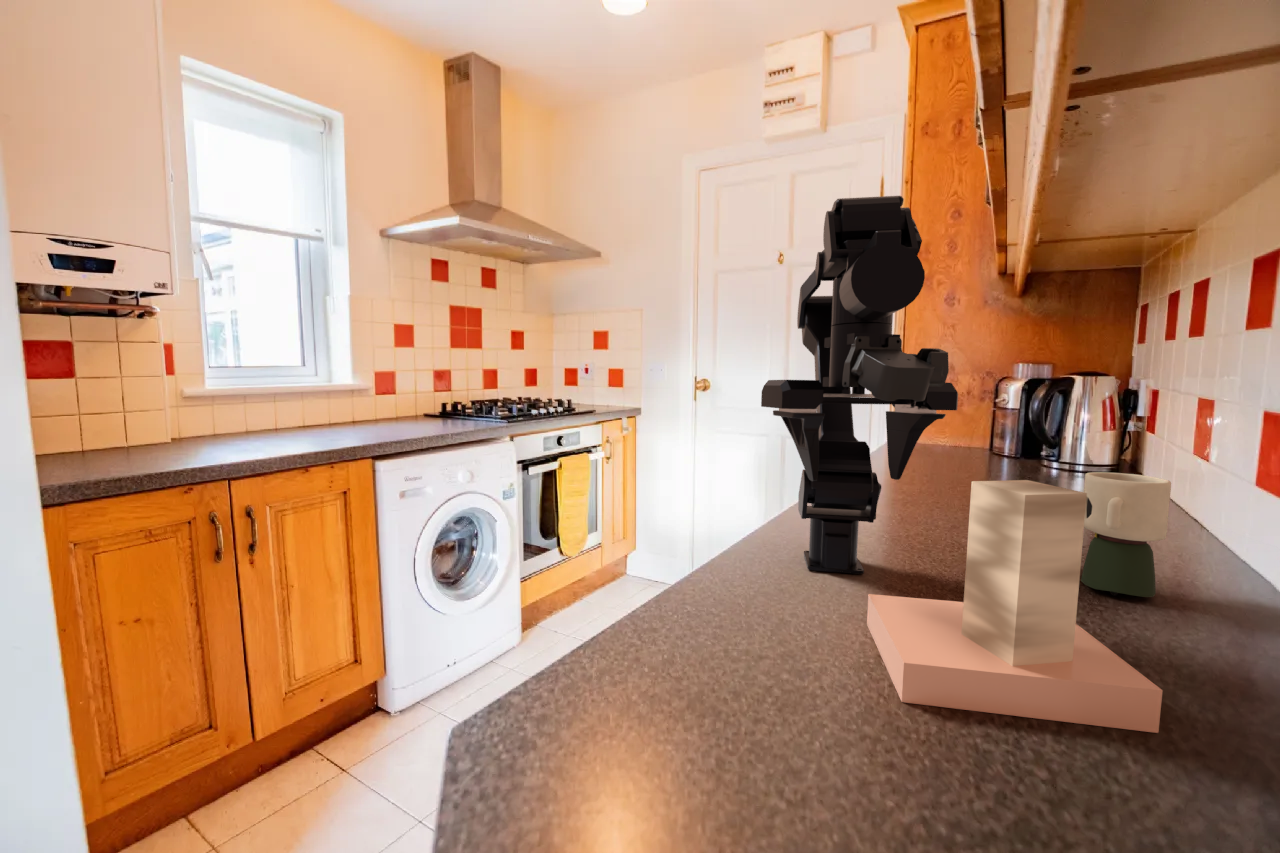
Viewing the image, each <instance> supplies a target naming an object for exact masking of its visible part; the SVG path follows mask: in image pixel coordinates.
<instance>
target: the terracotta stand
mask: <svg viewBox="0 0 1280 853" xmlns="http://www.w3.org/2000/svg"><path fill="white" fill-rule="evenodd" d="M867 596H868V597H867V618H866V619H867V620H866V626H867V628H868V630H869V632H870V635H871V637H872V639H873V641H874V643H875V646H876V647H877V650H878V653H879V655H880V657H881V659H882V661H883V664H884V666H885V668H886V671H887V673H888V675H889V678H890V680H891V682H892V683H893V686H894V688H895V690H896V692H897V695H898V697H899V699H900V701H901V703H907V704H915V705H924V706H931V707H940V708H949V709H956V710H966V711H972V712H981V713H990V714H996V715H1007V716H1012V717H1013V716H1016V717H1022V718H1029V719H1030V718H1031V719H1032V718H1033V719H1039V720H1046V721H1047V720H1048V721H1054V722H1055V721H1056V722H1065V723H1071V724H1072V723H1074V724H1081V725H1090V726H1098V727H1105V728H1115V729H1123V730H1130V731H1138V732H1139V731H1140V732H1148V733H1156V734H1159V732H1160V731H1159V730H1160V718H1161V708H1162V701H1163V700H1162V699H1163V691H1164V690H1163V689H1161V687H1159V686H1158V685H1156V684H1155V683H1153V682H1152V681H1151V680H1150V679H1148V678H1147V677H1146V676H1145V675H1143V674H1142V673H1141V672H1139V671H1138V670H1137V669H1135V667H1133V666H1131V665H1130V664H1129V663H1128V662H1127V661H1125V660H1124V659H1122V657H1120V656H1119V655H1117V654H1116V653H1115V652H1113V651H1112V650H1111V649H1110V648H1108V647H1107V646H1106V645H1104V644H1103V643H1102V642H1101V641H1099V640H1098V639H1096V638H1095V637H1094V636H1093V635H1092V634H1091V633H1089V632H1087V631H1086V630H1085V629H1083V627H1081V626H1080V625H1078V624H1077V623H1076V626H1075V638H1074V650H1073V661H1069V662H1057V663H1045V664H1033V665H1021V666H1011V665H1010V664H1008V663H1007V662H1005V661H1003V660H1002V659H1000V658H999V657H997V656H995V655H994V654H992V653H991V652H989V651H988V650H986V649H984V648H983V647H981V646H980V645H978V644H976V643H975V642H973V641H972V640H970V639H968V638H967V637H965V636H964V635H962V620H963V605H964V601H955V600H943V599H931V598H919V597H918V598H917V597H908V596H907V597H906V596H896V595H886V594H885V595H884V594H873V593H868V595H867Z"/></svg>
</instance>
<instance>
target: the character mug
mask: <svg viewBox="0 0 1280 853" xmlns="http://www.w3.org/2000/svg"><path fill="white" fill-rule="evenodd" d="M1084 476H1085V477H1084V488H1083V492H1084V493H1087V497H1086V508H1085V520H1084V529H1085V530H1088V531H1090V532H1092V533H1094V537H1093V538H1092V539H1091V541H1090V543H1089V545H1088V550H1087V552H1086V556H1085V560H1084V563H1083V568H1082V573H1081V576H1080V581H1081V582H1082V584H1084V586H1087V587H1089V588H1091V589H1094V590H1097V591H1098V590H1100V591H1107V592H1110V595H1112V596H1118V594H1124V595H1128V596H1136V597H1142V598H1153V597H1154V596H1155V595H1156V591H1157V589H1156V588H1157V587H1156V570H1155V560H1154V558H1155V556H1154V551H1153V548H1152V547H1151V545H1150V544H1149V543H1148V542H1158V541H1164V540H1165V539H1166V537H1167V531H1168V523H1169V510H1170V500H1171V491H1172V490H1171V489H1172V482H1171V481H1170V480H1167V479H1165V478H1161V477H1160V478H1159V477H1156V476H1155V477H1154V476H1150V475H1144V474H1142V475H1141V474H1136V473H1135V474H1134V473H1121V472H1105V471H1104V472H1100V471H1098V472H1097V471H1095V472H1087V473H1085V475H1084Z"/></svg>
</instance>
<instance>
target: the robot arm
mask: <svg viewBox="0 0 1280 853" xmlns="http://www.w3.org/2000/svg"><path fill="white" fill-rule="evenodd" d="M903 205H904V198H903V196H901V195H886V196H865V197H863V196H862V197H845V198H844V197H843V198H836V200H834V202H833V205H832V208H831V210H827V211H826V213H825V216H824V223H823V224H824V225H823V248H824V249H822V251H818V252H817V254H816V258H815V260H816V261H815V268H814V270H813V271H812V272H811V274H810V275H809V276H808V277H807V278H806V280H805V281H804V282H803V283H802V284H801V286H800V289H799V297H798V304H797V305H798V306H797V318H796V319H797V330H798V329H799V330H800V329H801V341H802V345H803V346H804V347H805V348H806V349H807V350H808V351H809V352H810V353H811V355H813V359H814V374H815V375H814V378H815V379H768V380H767V382H765V384H764V385H763V386H762V390H761V402H760V403H761V404H760V406H761V407H762V408H773V411H772V415H773V416H777V417H780V418H781V419H782V421H783V423H784V424H785V426H786V428H787V431H788V433H789V435H790V436H791V438H792V440H793V442H794V445H795V448H796V450H797V452H798V455H799V458H800V459H801V460H800V461H801V462H802V465H803V468H804V469H802V473H801V478H800V485H799V489H798V490H799V491H798V513H799V515H800V518H801V519H802V520H806V519H810V521H809V522H810V523H809V543H808V545H809V546H808V548H809V549H808V550H804V551H803V558H804V561H805V564H806V567H807V568H806V569H807V570H809V571H814V572H815V571H818V572H831V573H843V574H855V575H856V574H857V575H859V574H860V575H863V574H864V573H865V569H864V567H863V566H862V564H861V562H860V560H859V559H858V544H859V543H858V542H859V522H867V523H871V524H872V523H874V521H875V520H877V507H878V502H879V499H880V495H881V491H882V484H881V483H880V482H879V480H878V476H877V473H876V471H875V472H873V468H872V460H871V449H870V447H869V445H868V443H867V441H861V440H860V441H859V440H858V439H857V438H856V436H855V433H854V432H855V430H854V429H855V428H854V418H853V416H854V415H853V405H891V406H893V408H894V411H893V410H890V411H888V410H886V411H885V425H886V427H885V428H886V443H887V444H886V445H887V460H888V462H887V463H888V471H889V477H890V479H892V480H894V481H895V480H896V481H899V480H901V478H902V476H903V473H904V471H905V469H906V468H907V464H908V462H909V460H910V458H911V456H912V454H913V451H914V449H915V447H916V445H917V443H918V441H919V439H920V438H921V436H922V434H923V433H924V431H925V430H926V429H927V428H928V427H929V426H930V425H932V424H933V423H934V422H936V421H937V420H943V419H944V418H945V417H946V416H947V415H946V413H937V411H958V405H959V404H958V403H959V392H958V390H957V389H956V388H955V386H954V385H953V383H952V382H946V381H947V378H948V374H949V370H950V368H949V367H950V366H949V352H948V351H945V350H943V349H941V348H936V347H935V348H933V347H932V348H931V347H930V348H929V347H922V348H920V349H919V351H918V352H917V354H916V353H907V352H906V353H905V352H904V351H903V348H902V346H903V345H902V343H903V340H902V338H901V334H893V319H894V314H895V313H896V312H898V311H900V310H902V309H904V308H906V307H908V306H909V305H910V304H911V303H913V302H914V301H915V300H916V299H917V297H918V296H919V295H920V294H921V292H922V289H923V287H924V282H925V278H926V277H925V275H926V274H925V273H926V272H925V271H926V270H925V269H924V267H923V264H922V260H921V259H920V258H919V256H918V255H919V253H920V250H921V246H922V242H923V239H922V237H921V235H920V232H919V228H918V227H917V224H916V222H915V220H914V219H913V216H912V210H911V208H910V207H908V206H907V207H902V206H903ZM824 281H825V282H829V281H831V282H833V283H832V295H813V294H815V292H816V291H817V290H818V289H819V288H820V286H821V284H822V282H824ZM866 390H867V391H869V392H870V393H866ZM774 409H775V410H774ZM776 409H777V410H776ZM808 504H811V505H808Z"/></svg>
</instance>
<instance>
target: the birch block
mask: <svg viewBox="0 0 1280 853" xmlns="http://www.w3.org/2000/svg"><path fill="white" fill-rule="evenodd" d="M970 486H971V487H970V502H969V516H968V528H967V529H968V530H967V545H966V547H967V548H966V563H965V564H966V565H965V576H964V589H963V591H964V593H963V602H964V605H963V620H962V635H964V636H965V637H967V638H968V639H970V640H972V641H973V642H975V643H976V644H978V645H980V646H981V647H983V648H984V649H986V650H988V651H989V652H991V653H992V654H994V655H995V656H997V657H999V658H1000V659H1002V660H1003V661H1005V662H1007V663H1008V664H1010V665H1011V666H1021V665H1033V664H1045V663H1057V662H1069V661H1073V650H1074V638H1075V626H1076V624H1077V612H1078V600H1079V588H1080V580H1081V565H1082V553H1083V543H1084V542H1083V540H1084V529H1085V528H1084V520H1085V508H1086V497H1087V493H1084V491H1078V490H1074V489H1069V488H1065V487H1061V486H1057V485H1052V484H1047V483H1043V482H1038V481H1035V480H1030V479H1029V480H1028V479H1014V480H1012V479H1011V480H1009V479H1008V480H1007V479H1006V480H973V481H971V485H970Z"/></svg>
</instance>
